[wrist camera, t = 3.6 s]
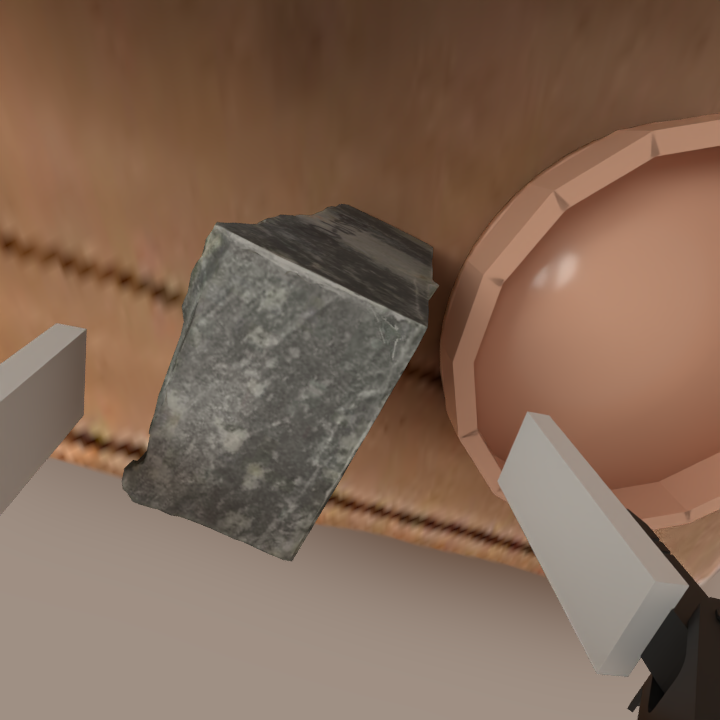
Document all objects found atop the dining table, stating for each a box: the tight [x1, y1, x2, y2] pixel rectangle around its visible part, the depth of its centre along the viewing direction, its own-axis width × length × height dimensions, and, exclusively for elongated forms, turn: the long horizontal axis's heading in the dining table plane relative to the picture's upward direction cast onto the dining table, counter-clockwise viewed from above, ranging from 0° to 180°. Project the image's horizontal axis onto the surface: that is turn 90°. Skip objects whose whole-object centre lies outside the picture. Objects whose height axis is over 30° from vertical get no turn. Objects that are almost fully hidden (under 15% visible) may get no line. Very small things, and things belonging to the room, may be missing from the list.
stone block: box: [122, 204, 439, 561], centre depth 19 cm, size 9×14×5 cm
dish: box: [440, 114, 720, 530], centre depth 27 cm, size 22×22×4 cm
